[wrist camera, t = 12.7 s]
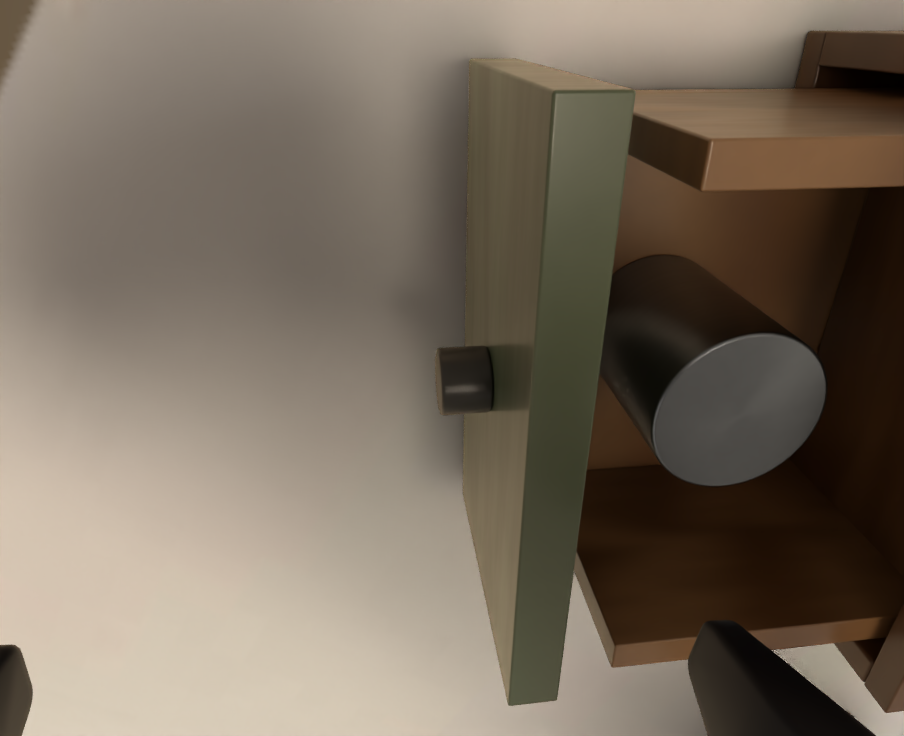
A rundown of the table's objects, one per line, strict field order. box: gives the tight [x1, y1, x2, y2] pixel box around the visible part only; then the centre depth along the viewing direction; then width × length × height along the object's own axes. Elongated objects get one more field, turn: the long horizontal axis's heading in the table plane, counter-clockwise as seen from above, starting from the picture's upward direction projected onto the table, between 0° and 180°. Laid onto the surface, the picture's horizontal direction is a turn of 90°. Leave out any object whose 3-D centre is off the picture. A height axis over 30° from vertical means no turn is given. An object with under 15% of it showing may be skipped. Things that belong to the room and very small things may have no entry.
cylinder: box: [599, 255, 828, 487], centre depth 16 cm, size 4×4×5 cm
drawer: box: [435, 58, 904, 706], centre depth 16 cm, size 13×13×8 cm
